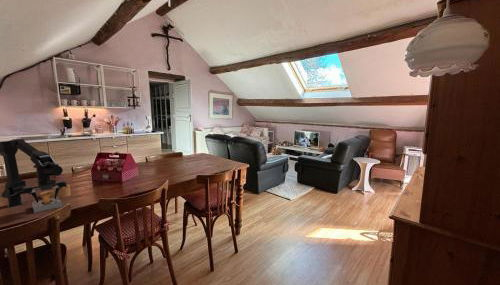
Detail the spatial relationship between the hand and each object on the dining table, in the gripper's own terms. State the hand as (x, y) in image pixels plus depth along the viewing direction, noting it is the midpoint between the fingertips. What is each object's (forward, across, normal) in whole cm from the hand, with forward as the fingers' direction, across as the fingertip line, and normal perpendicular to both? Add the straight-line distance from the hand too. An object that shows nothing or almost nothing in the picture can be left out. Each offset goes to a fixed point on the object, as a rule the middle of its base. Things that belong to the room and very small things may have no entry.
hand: (46, 200), depth 132 cm
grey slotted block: (+4, 0, 0) cm, 4 cm away
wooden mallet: (+4, +6, +21) cm, 22 cm away
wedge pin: (+4, 0, 0) cm, 4 cm away
